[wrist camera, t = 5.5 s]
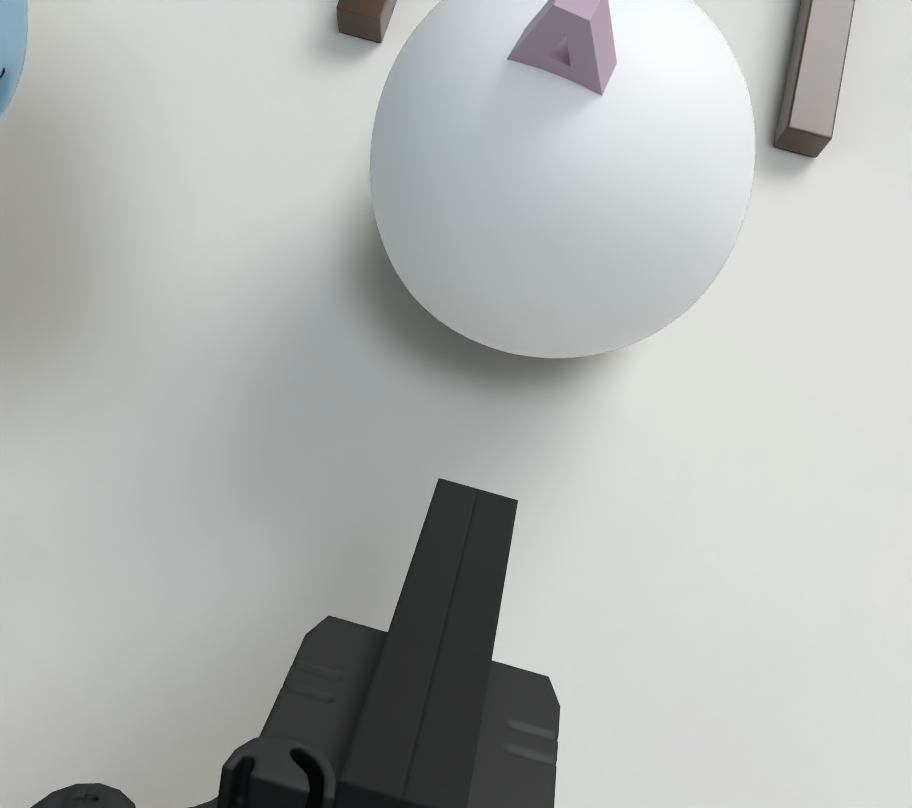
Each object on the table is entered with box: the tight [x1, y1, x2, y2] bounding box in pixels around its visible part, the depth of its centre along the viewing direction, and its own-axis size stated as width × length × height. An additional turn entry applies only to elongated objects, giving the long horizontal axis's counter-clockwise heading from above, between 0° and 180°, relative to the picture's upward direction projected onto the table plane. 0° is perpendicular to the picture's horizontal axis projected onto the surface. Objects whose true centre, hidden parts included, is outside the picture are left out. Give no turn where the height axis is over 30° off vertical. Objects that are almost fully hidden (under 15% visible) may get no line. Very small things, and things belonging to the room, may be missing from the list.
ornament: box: [370, 0, 756, 358], centre depth 23 cm, size 10×10×12 cm
